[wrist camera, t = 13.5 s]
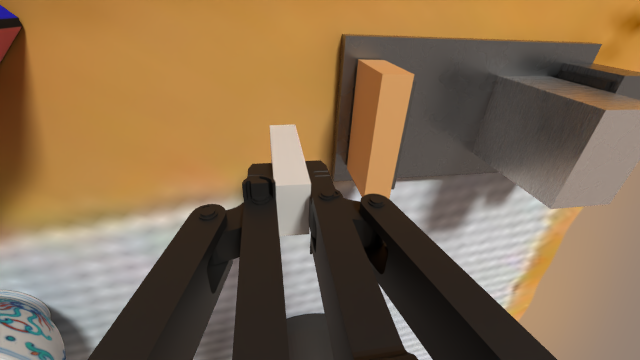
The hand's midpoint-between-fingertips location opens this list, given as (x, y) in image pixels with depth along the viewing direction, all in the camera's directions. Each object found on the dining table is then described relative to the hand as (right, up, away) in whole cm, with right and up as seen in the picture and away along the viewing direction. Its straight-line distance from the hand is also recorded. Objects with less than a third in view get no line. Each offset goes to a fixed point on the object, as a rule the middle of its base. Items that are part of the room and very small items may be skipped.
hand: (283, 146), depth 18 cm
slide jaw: (+6, +3, +6) cm, 9 cm away
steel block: (+19, +4, +9) cm, 21 cm away
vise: (+14, +4, +9) cm, 17 cm away
